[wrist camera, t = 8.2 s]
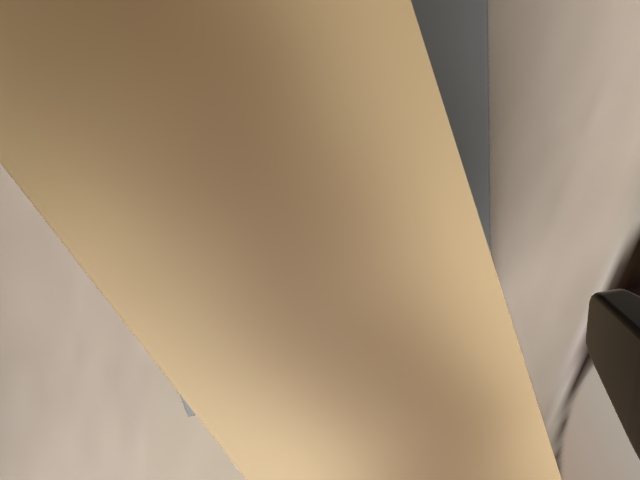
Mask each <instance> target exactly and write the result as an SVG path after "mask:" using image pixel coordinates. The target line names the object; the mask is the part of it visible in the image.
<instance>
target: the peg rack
mask: <svg viewBox="0 0 640 480" xmlns="http://www.w3.org/2000/svg"><path fill="white" fill-rule="evenodd" d="M411 3H412V6H413V9H414V12H415V15H416V19H417V22H418V25H419V28H420V31H421V35H422V38H423V41H424V44H425V47H426V50H427V54H428V57H429V60H430V63H431V66H432V69H433V73H434V76H435V79H436V82H437V85H438V88H439V92H440V95H441V98H442V101H443V104H444V108H445V111H446V114H447V117H448V120H449V123H450V127H451V130H452V133H453V136H454V139H455V142H456V146H457V149H458V152H459V155H460V158H461V162H462V165H463V168H464V171H465V174H466V177H467V181H468V184H469V187H470V190H471V193H472V196H473V200H474V203H475V206H476V209H477V212H478V216H479V219H480V222H481V225H482V228H483V231H484V235H485V238H486V241H487V244H488V247H489V250H490V186H489V96H488V5H487V0H411ZM180 397H181V395H180ZM181 399H182V402H183V404H184V407H185V409H186V412H187V415H188V417H189V416H195V413H194V412H193V411H192V409H191V408H190V407H189V406H188V404H187V403H186V402H185V400H184V399H183V398H182V397H181ZM232 463H233V462H232ZM233 465H234V464H233ZM234 466H235V465H234ZM235 467H236V466H235Z"/></svg>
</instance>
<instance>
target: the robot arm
mask: <svg viewBox="0 0 640 480" xmlns="http://www.w3.org/2000/svg"><path fill="white" fill-rule="evenodd" d="M586 344H587V349H588V352H589V355H590V357H591V359H592V361H593V363H594V366H595V368H596V370H597V372H598V374H599V376H600V378H601V381H602V383H603V385H604V387H605V389H606V391H607V393H608V396H609V398H610V400H611V402H612V404H613V406H614V408H615V411H616V413H617V415H618V417H619V419H620V421H621V423H622V425H623V428H624V430H625V432H626V434H627V436H628V438H629V440H630V442H631V444H632V446H633V448H634V450H635V452H636V454H637V456H638V457H639V459H640V296H638V295H636V294H634V293H632V292H629V291H627V290H624V289H615V290H609V291H604V292H598V293H595V294H594V295H593V296H592V297H591V299H590V303H589V312H588V322H587V333H586Z"/></svg>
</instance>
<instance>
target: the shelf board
mask: <svg viewBox="0 0 640 480" xmlns="http://www.w3.org/2000/svg"><path fill="white" fill-rule="evenodd" d="M0 163H1V164H2V165H3V167H4V168H5V169H6V170H7V172H8V173H9V174H10V176H11V177H12V178H13V179H14V181H15V182H16V183H17V185H18V186H19V187H20V189H21V190H22V191H23V192H24V194H25V195H26V196H27V198H28V199H29V200H30V201H31V203H32V204H33V205H34V207H35V208H36V209H37V211H38V212H39V213H40V214H41V216H42V217H43V218H44V220H45V221H46V222H47V223H48V225H49V226H50V227H51V229H52V230H53V231H54V232H55V234H56V235H57V236H58V238H59V239H60V240H61V242H62V243H63V244H64V245H65V247H66V248H67V249H68V251H69V252H70V253H71V254H72V256H73V257H74V258H75V260H76V261H77V262H78V263H79V265H80V266H81V267H82V269H83V270H84V271H85V273H86V274H87V275H88V276H89V278H90V279H91V280H92V282H93V283H94V284H95V285H96V287H97V288H98V289H99V291H100V292H101V293H102V294H103V296H104V297H105V298H106V300H107V301H108V302H109V304H110V305H111V306H112V307H113V309H114V310H115V311H116V313H117V314H118V315H119V316H120V318H121V319H122V320H123V322H124V323H125V324H126V325H127V327H128V328H129V329H130V331H131V332H132V333H133V335H134V336H135V337H136V338H137V340H138V341H139V342H140V344H141V345H142V346H143V347H144V349H145V350H146V351H147V353H148V354H149V355H150V356H151V358H152V359H153V360H154V362H155V363H156V364H157V366H158V367H159V368H160V369H161V371H162V372H163V373H164V375H165V376H166V377H167V378H168V380H169V381H170V382H171V384H172V385H173V386H174V387H175V389H176V390H177V391H178V393H179V394H180V395H181V397H182V398H183V399H184V400H185V402H186V403H187V404H188V406H189V407H190V408H191V409H192V411H193V412H194V413H195V415H196V416H197V417H198V418H199V420H200V421H201V422H202V424H203V425H204V426H205V428H206V429H207V430H208V431H209V433H210V434H211V435H212V437H213V438H214V439H215V440H216V442H217V443H218V444H219V446H220V447H221V448H222V449H223V451H224V452H225V453H226V455H227V456H228V457H229V459H230V460H231V461H232V462H233V464H234V465H235V466H236V468H237V469H238V470H239V471H240V473H241V474H242V475H243V477H244V478H245V479H246V480H562V479H561V476H560V473H559V470H558V466H557V463H556V460H555V457H554V454H553V451H552V447H551V444H550V441H549V438H548V435H547V431H546V428H545V425H544V422H543V419H542V416H541V412H540V409H539V406H538V403H537V400H536V397H535V393H534V390H533V387H532V384H531V381H530V377H529V374H528V371H527V368H526V365H525V362H524V358H523V355H522V352H521V349H520V346H519V343H518V339H517V336H516V333H515V330H514V327H513V323H512V320H511V317H510V314H509V311H508V308H507V304H506V301H505V298H504V295H503V292H502V289H501V285H500V282H499V279H498V276H497V273H496V269H495V266H494V263H493V260H492V257H491V254H490V250H489V247H488V244H487V241H486V238H485V235H484V231H483V228H482V225H481V222H480V219H479V216H478V212H477V209H476V206H475V203H474V200H473V196H472V193H471V190H470V187H469V184H468V181H467V177H466V174H465V171H464V168H463V165H462V162H461V158H460V155H459V152H458V149H457V146H456V142H455V139H454V136H453V133H452V130H451V127H450V123H449V120H448V117H447V114H446V111H445V108H444V104H443V101H442V98H441V95H440V92H439V88H438V85H437V82H436V79H435V76H434V73H433V69H432V66H431V63H430V60H429V57H428V54H427V50H426V47H425V44H424V41H423V38H422V35H421V31H420V28H419V25H418V22H417V19H416V15H415V12H414V9H413V6H412V3H411V0H0Z"/></svg>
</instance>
